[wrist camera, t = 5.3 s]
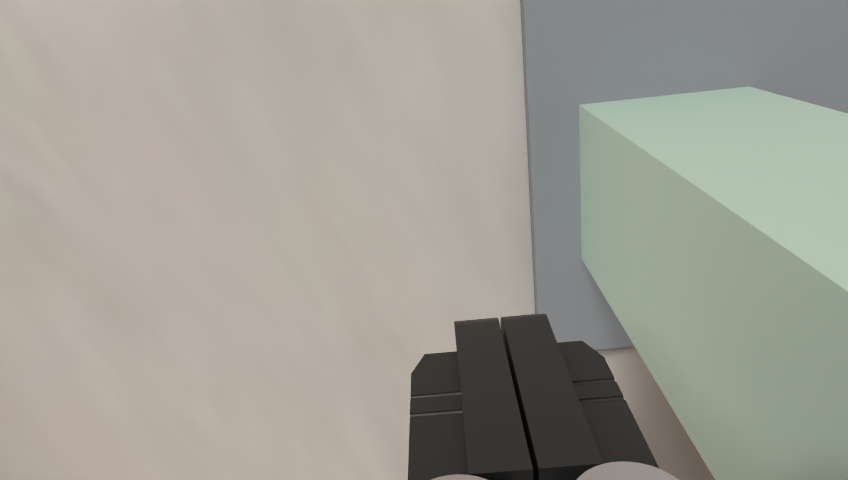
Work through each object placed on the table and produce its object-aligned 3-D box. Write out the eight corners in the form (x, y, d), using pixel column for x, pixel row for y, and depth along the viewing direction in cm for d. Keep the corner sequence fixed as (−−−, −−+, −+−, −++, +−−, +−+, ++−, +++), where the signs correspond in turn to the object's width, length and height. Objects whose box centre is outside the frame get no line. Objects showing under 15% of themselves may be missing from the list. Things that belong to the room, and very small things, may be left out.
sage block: (579, 104, 19) (945, 359, 6) (749, 86, 18) (1547, 305, 5) (581, 258, 20) (862, 724, 7) (736, 243, 20) (1308, 693, 7)
